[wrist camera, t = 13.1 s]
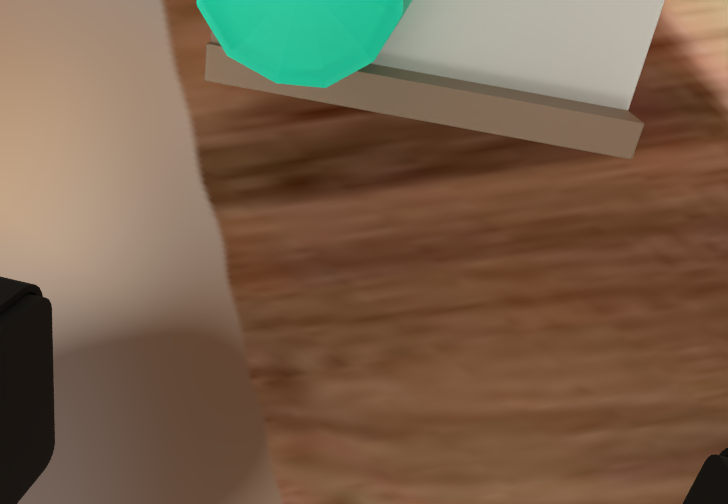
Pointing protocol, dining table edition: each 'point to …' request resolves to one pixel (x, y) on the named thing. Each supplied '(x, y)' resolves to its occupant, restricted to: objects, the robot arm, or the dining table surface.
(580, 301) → the dining table surface
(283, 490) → the dining table surface
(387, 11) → the candle
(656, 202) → the dining table surface
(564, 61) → the jig board
